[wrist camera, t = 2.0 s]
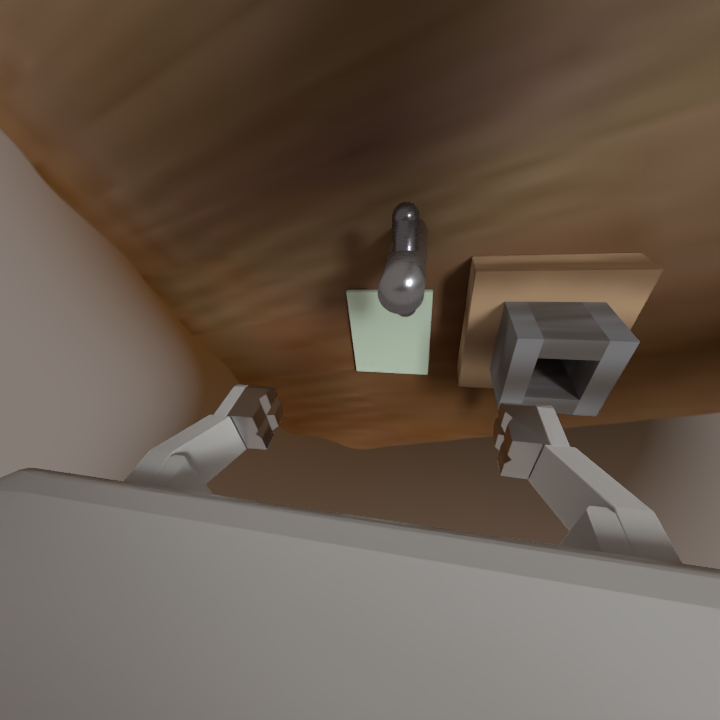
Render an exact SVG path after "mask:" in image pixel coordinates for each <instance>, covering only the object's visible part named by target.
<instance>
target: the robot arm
mask: <svg viewBox="0 0 720 720" xmlns="http://www.w3.org/2000/svg"><path fill="white" fill-rule="evenodd" d="M277 395H278V394H277V391H276V389H275V388H273V387H264V386H253V385H240V384H238V385H236V386H234V387H233V389H232V390H231V391H230V393H229V394H228V395H227V397H226V398H225V400H224V401H223V402H222V404H221V405H220V406H219V408H218V409H217V411H216V412H215V413H214V415H208V416H207V417H205V418H203V419H202V420H200V421H198V422H197V423H195V424H193V425H191V426H190V427H188V428H186V429H185V430H183V431H181V432H180V433H178V434H176V435H175V436H173V437H171V438H169V439H168V440H166V441H164V442H163V443H161V444H159V445H158V446H156V447H154V448H153V449H151V450H150V451H148V453H147V454H146V455H145V456H144V457H143V459H142V460H141V461H140V462H139V463H138V464H137V466H136V467H135V468H134V469H133V470H132V472H131V473H130V474H129V475H128V476H127V478H126V479H125V480H124V481H118V480H111V479H104V478H97V477H91V476H84V475H77V474H71V473H64V472H57V471H51V470H44V469H38V468H26V469H21V470H18V471H15V472H13V473H11V474H8V475H6V476H3V477H1V478H0V720H720V569H716V568H709V567H701V566H695V565H688V564H682V562H681V560H680V558H679V556H678V555H677V553H676V551H675V549H674V547H673V546H672V544H671V542H670V540H669V538H668V536H667V535H666V533H665V531H664V529H663V527H662V525H661V524H660V522H659V520H658V518H657V516H656V515H655V513H654V512H653V511H652V510H651V509H649V508H648V507H647V506H646V505H645V504H643V503H642V502H641V501H640V500H639V499H637V498H636V497H635V496H634V495H633V494H631V493H630V492H629V491H628V490H626V489H625V488H624V487H623V486H622V485H620V484H619V483H618V482H617V481H615V480H614V479H613V478H612V477H611V476H609V475H608V474H607V473H606V472H605V471H603V470H602V469H601V468H600V467H598V466H597V465H596V464H595V463H594V462H592V461H591V460H590V459H589V458H587V457H586V456H585V455H584V454H583V453H581V452H580V451H579V450H577V449H576V448H574V447H570V446H569V444H568V441H567V439H566V436H565V434H564V431H563V429H562V426H561V424H560V422H559V419H558V417H557V414H556V412H555V410H554V408H553V407H552V406H551V405H536V404H534V405H533V404H519V403H502V402H501V404H500V405H499V408H498V413H499V417H498V418H497V419H495V423H494V432H493V436H494V444H495V447H496V448H497V449H498V450H499V453H498V457H497V460H498V465H499V470H500V475H501V476H507V477H515V478H522V479H529V482H530V483H531V485H532V486H533V487H534V488H535V489H536V491H537V492H538V493H539V494H540V495H541V497H542V498H543V499H544V501H545V502H546V503H547V504H548V505H549V507H550V508H551V509H552V510H553V512H554V513H555V514H556V515H557V516H558V518H559V519H560V520H561V521H562V523H563V524H564V525H565V526H566V528H567V529H568V530H569V531H570V532H569V533H568V534H567V536H566V537H565V538H564V539H563V541H562V542H561V544H560V545H552V544H545V543H539V542H532V541H525V540H518V539H511V538H505V537H498V536H491V535H484V534H478V533H471V532H464V531H457V530H450V529H444V528H436V527H430V526H423V525H417V524H410V523H403V522H396V521H390V520H383V519H375V518H369V517H362V516H356V515H349V514H342V513H334V512H328V511H321V510H314V509H308V508H301V507H294V506H287V505H280V504H274V503H267V502H260V501H253V500H246V499H240V498H233V497H226V496H219V495H213V494H212V492H211V491H210V490H209V489H208V487H207V486H206V484H207V483H208V482H209V481H210V480H211V479H212V478H214V477H215V476H216V475H217V474H218V473H219V472H221V471H222V470H223V469H224V468H225V467H226V466H228V465H229V464H230V463H231V462H232V461H233V460H234V459H236V458H237V457H238V456H239V455H240V454H241V453H242V452H244V451H245V450H246V448H253V449H265V450H267V448H268V446H269V444H270V442H271V440H272V438H273V436H274V434H273V431H272V430H274V429H275V428H276V427H278V426H279V424H280V422H281V419H282V413H283V412H282V405H281V403H280V402H279V401H278V400H277V399H276V397H277Z"/></svg>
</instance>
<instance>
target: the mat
mask: <svg viewBox="0 0 720 720" xmlns="http://www.w3.org/2000/svg"><path fill="white" fill-rule="evenodd" d="M346 294H347V301H348V309H349V316H350V324H351V332H352V339H353V347H354V354H355V362H356V370H357V371H367V372H386V373H405V374H424V375H428V363H429V346H430V330H431V314H432V298H433V290H424V299H423V301H422V303H421V305H420V306H419V307H418V308H417V309H416V311H415V312H414V314H412V315H411V316H409V317H402V316H400V315H398V314H395V313H392V312H389V311H388V310H386V309H385V308H384V307H383V306H382V305H381V303H380V301H379V299H378V290H347V291H346Z"/></svg>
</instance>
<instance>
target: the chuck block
mask: <svg viewBox="0 0 720 720" xmlns="http://www.w3.org/2000/svg"><path fill="white" fill-rule="evenodd" d="M663 270H664V269H662V268H661V267H660V266H658V265H657V264H656V263H654V262H653V261H652V260H650V259H649V258H647V257H646V256H645V255H643V254H642V253H612V254H564V255H516V256H472V262H471V269H470V276H469V284H468V291H467V298H466V305H465V312H464V320H463V327H462V334H461V341H460V348H459V356H458V363H457V374H458V386H461V387H477V388H494V393H495V398H496V403H497V407H498V408H499V405H500V404H501V402H502V403H519V404H533V405H534V404H536V405H551V406H552V407H553V408H554V410H555V412H556V414H570V415H584V416H597V414H598V412H599V411H600V409H601V407H602V405H603V404H604V402H605V400H606V399H607V397H608V395H609V394H610V392H611V390H612V389H613V387H614V385H615V384H616V382H617V380H618V378H619V377H620V375H621V373H622V372H623V370H624V368H625V367H626V365H627V363H628V362H629V360H630V358H631V357H632V355H633V353H634V351H635V350H636V348H637V346H638V345H639V343H640V341H639V340H638V339H637V338H636V337H635V335H634V334H633V333H632V332H631V331H630V330H631V328H632V326H633V324H634V322H635V321H636V319H637V317H638V315H639V313H640V312H641V310H642V308H643V306H644V304H645V302H646V301H647V299H648V297H649V295H650V293H651V292H652V290H653V288H654V286H655V284H656V282H657V281H658V279H659V277H660V275H661V273H662V272H663Z"/></svg>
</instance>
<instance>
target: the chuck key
mask: <svg viewBox="0 0 720 720" xmlns="http://www.w3.org/2000/svg"><path fill="white" fill-rule="evenodd" d="M392 230H393V241H392V244H391V247H390V251H389V254H388V257H387V261H386V264H385V267H384V271H383V274H382V277H381V281H380V284H379V287H378V299H379V301H380V303H381V305H382V306H383V307H384V308H385V309H386V310H388V311H389V312H392V313H395V314H398V315H400V316H402V317H409V316H411V315H412V314H414V312H415V311H416V309H417V308H418V307H419V306H420V305H421V303H422V301H423V299H424V290H425V271H426V252H427V233H428V232H427V227H426V224H425V223H424V222H423V221H422V220H421V219H420V218H419V211H418V209H417V207H416V206H415V205H414V204H413V203H410V202H403V203H401V204H399V205H398V206H397V207H396V208H395V209H394V211H393V215H392Z"/></svg>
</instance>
